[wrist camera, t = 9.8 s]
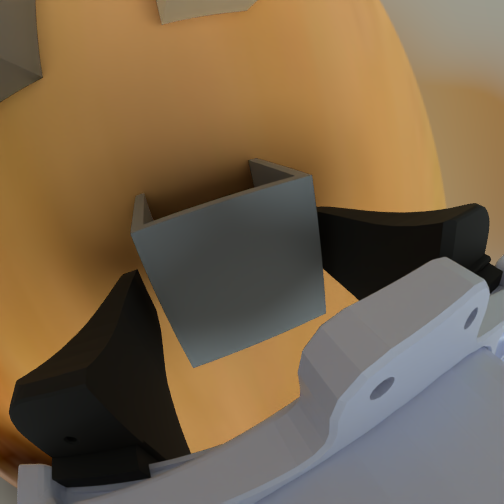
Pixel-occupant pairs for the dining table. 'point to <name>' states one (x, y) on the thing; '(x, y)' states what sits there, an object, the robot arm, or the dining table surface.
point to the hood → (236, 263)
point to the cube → (198, 8)
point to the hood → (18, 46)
